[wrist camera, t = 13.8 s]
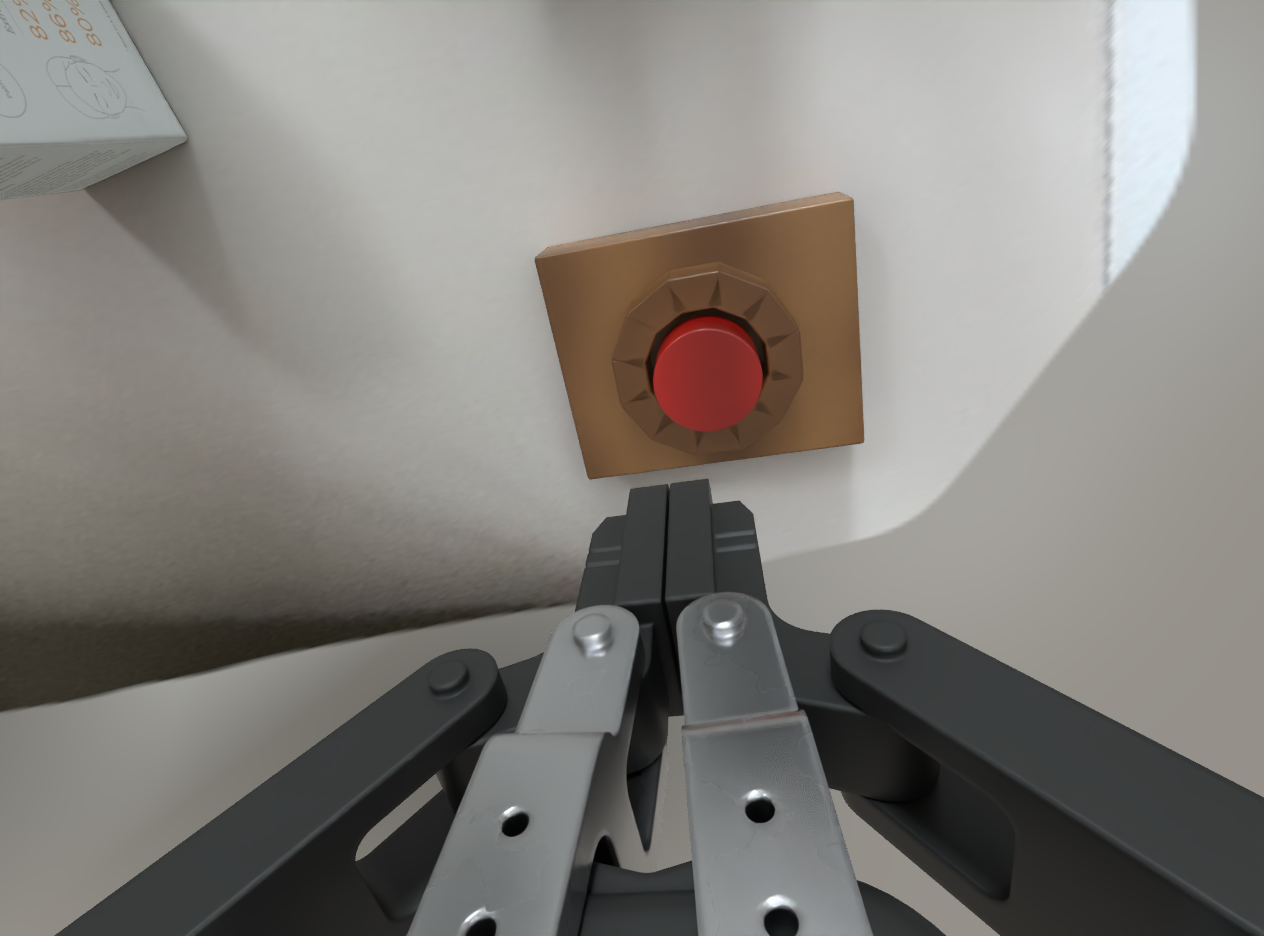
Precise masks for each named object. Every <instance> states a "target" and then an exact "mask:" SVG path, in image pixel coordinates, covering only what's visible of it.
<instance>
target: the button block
mask: <svg viewBox="0 0 1264 936" xmlns="http://www.w3.org/2000/svg"><path fill="white" fill-rule="evenodd" d="M535 264H536V268H537V272H538V276H539V280H540V284H541V288H542V292H543V296H544V300H545V304H546V309H547V313H548V317H549V321H550V325H551V329H552V333H553V337H554V341H555V345H556V349H557V353H558V357H559V362H560V366H561V370H562V374H563V378H564V382H565V386H566V390H567V394H568V398H569V402H570V406H571V411H572V415H573V419H574V423H575V427H576V431H577V435H578V439H579V443H580V447H581V451H582V455H583V459H584V464H585V468H586V472H587V476H588V478H589V479H597V478H604V477H612V476H619V475H627V474H634V473H642V472H649V471H657V470H664V469H672V468H679V467H687V466H695V465H702V464H710V463H717V462H725V461H732V460H740V459H747V458H755V457H762V456H770V455H777V454H785V453H792V452H800V451H807V450H815V449H823V448H830V447H838V446H845V445H853V444H860V443H864V422H863V400H862V378H861V356H860V333H859V311H858V289H857V266H856V244H855V222H854V200H853V198H851V197H849V196H847V195H845V194H843V193H841V192H835V193H830V194H824V195H819V196H814V197H809V198H803V199H798V200H793V201H788V202H782V203H777V204H772V205H767V206H761V207H756V208H751V209H746V210H740V211H735V212H730V213H725V214H719V215H714V216H709V217H703V218H698V219H693V220H688V221H682V222H677V223H672V224H667V225H661V226H656V227H651V228H646V229H640V230H635V231H630V232H625V233H619V234H614V235H609V236H603V237H598V238H593V239H588V240H582V241H577V242H572V243H567V244H561V245H556V246H551V247H547V248H546V249H545V250H544V251H542V252H541V253H540V254H539V255H538V256H536V257H535ZM706 315H709V316H719V317H723V318H726V319H729V320H731V321H733V322H735V323H736V324H738V325H739V326H741V327H742V328H743V329H744V330H745V331H746V332H747V333H748V334H749V336H750V337H751V339H752V340H753V342H754V344H755V347H756V350H757V353H758V356H759V360H760V364H761V368H762V373H763V384H762V390H761V394H760V396H759V399H758V401H757V403H756V405H755V406H754V408H753V409H752V410H751V412H750V413H749V414H748V415H747V416H746V417H745V418H744V419H742V420H741V421H740V422H738V423H736V424H735V425H733V426H731V427H729V428H726V429H723V430H718V431H711V432H703V431H695V430H691V429H688V428H686V427H683V426H681V425H679V424H678V423H676V422H675V421H673V420H672V419H671V418H670V417H669V416H668V415H667V414H666V413H665V412H664V411H663V410H662V408H661V407H660V405H659V403H658V401H657V398H656V396H655V392H654V386H653V375H654V369H655V363H656V357H657V353H658V350H659V347H660V345H661V343H662V341H663V340H664V338H665V337H666V335H667V334H668V333H669V332H670V331H671V330H672V329H673V328H674V327H676V326H677V325H678V324H680V323H682V322H684V321H685V320H688V319H691V318H694V317H698V316H706Z"/></svg>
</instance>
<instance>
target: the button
mask: <svg viewBox="0 0 1264 936" xmlns="http://www.w3.org/2000/svg"><path fill="white" fill-rule="evenodd" d="M762 384H763V373H762V368H761V364H760V360H759V356H758V353H757V350H756V347H755V344H754V342H753V340H752V339H751V337H750V336H749V334H748V333H747V332H746V331H745V330H744V329H743V328H742V327H741V326H739V325H738V324H736V323H735V322H733V321H731V320H729V319H726V318H723V317H719V316H709V315H706V316H698V317H694V318H691V319H688V320H685V321H684V322H682V323H680V324H678V325H677V326H676V327H674V328H673V329H672V330H671V331H670V332H669V333H668V334H667V335H666V337H665V338H664V340H663V341H662V343H661V345H660V347H659V350H658V353H657V357H656V363H655V369H654V375H653V386H654V392H655V396H656V398H657V401H658V403H659V405H660V407H661V408H662V410H663V411H664V412H665V413H666V414H667V415H668V416H669V417H670V418H671V419H672V420H673V421H675V422H676V423H678V424H679V425H681V426H683V427H686V428H688V429H691V430H695V431H703V432H711V431H718V430H723V429H726V428H729V427H731V426H733V425H735V424H736V423H738V422H740V421H741V420H742V419H744V418H745V417H746V416H747V415H748V414H749V413H750V412H751V410H752V409H753V408H754V406H755V405H756V403H757V401H758V399H759V396H760V394H761V390H762Z"/></svg>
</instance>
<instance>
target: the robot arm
mask: <svg viewBox="0 0 1264 936" xmlns="http://www.w3.org/2000/svg"><path fill="white" fill-rule="evenodd" d="M682 715H684V717H685V726H682V747H683V758H684V770H685V783H686V794H687V806H688V818H689V828H690V829H689V830H690V841H691V853H692V861H689V862H686V863H683V864H679V865H676V866H673V867H670V868H666V869H663V870H660V871H657V862H658V853H659V844H660V836H661V827H662V819H663V810H664V801H665V792H666V783H667V775H668V766H669V753H668V748H667V744H666V742H667V736H668V717H669V716H682ZM435 774H437V777H438V779H439V781H440V784H441V786H442V788H443V789H442V790H441V791H440V792H439V793H438V794H436V795H435V796H434V797H433V798H432V799H431V800H430V801H429V802H427V803H426V804H425V805H424V806H423V807H422V808H421V809H419V810H418V811H417V812H416V813H415V814H414V815H413V816H412V817H410V818H409V819H408V820H407V821H406V822H405V823H404V824H402V825H401V826H400V827H399V828H398V829H397V830H396V831H395V832H393V833H392V834H391V835H390V836H389V837H388V838H387V839H385V840H384V841H383V842H382V843H381V844H380V845H378V846H377V847H376V848H375V849H374V850H373V851H372V852H371V853H369V854H368V855H367V856H365V857H364V858H362V859H360V860H358V861H355V856H356V852H357V849H358V846H359V844H360V843H361V841H362V839H363V838H364V836H365V835H366V834H367V833H368V832H369V830H371V829H372V828H373V827H374V826H375V825H376V824H377V823H378V822H380V821H381V820H382V819H383V818H384V817H385V816H387V815H388V814H389V813H390V812H391V811H392V810H393V809H395V808H396V807H397V806H398V805H399V804H401V803H402V802H403V801H404V800H405V799H406V798H408V797H409V796H410V795H411V794H412V793H413V792H415V791H416V790H417V789H418V788H419V787H421V785H423V784H424V783H425V782H426V781H428V779H430V778H431V777H432V776H433V775H435ZM829 788H831V789H835V790H839V791H841V793H842V796H843V797H844V800H845V802H846V803H847V804H848V806H849V807H850V808H851V809H852V810H853V811H854V812H855V813H856V814H857V815H858V816H859V817H860V818H862V819H863V820H864V821H865V822H866V823H867V824H869V825H870V826H871V827H872V828H874V829H875V830H876V831H877V832H878V833H879V834H881V835H882V836H883V837H884V838H885V839H886V840H888V841H889V842H890V843H891V844H893V845H894V846H895V847H896V848H897V849H898V850H900V851H901V852H902V853H903V854H904V855H905V856H907V857H908V858H909V859H910V860H911V861H913V862H914V863H915V864H916V865H917V866H918V867H920V868H921V869H922V870H923V871H924V872H926V873H927V874H928V875H929V876H930V877H932V878H933V879H934V880H935V881H936V882H938V883H939V884H940V885H941V886H942V887H943V888H945V889H946V890H947V891H948V892H949V893H951V894H952V895H953V896H954V897H955V898H956V899H958V900H959V901H960V902H961V903H962V904H964V905H965V906H966V907H967V908H968V909H969V910H971V911H972V912H973V913H974V914H975V915H977V916H978V917H979V918H980V919H981V920H983V921H984V922H985V923H986V924H987V925H988V926H990V927H991V928H992V929H993V930H994V931H996V932H997V933H998V934H999V935H1000V936H1264V798H1263V797H1262V796H1260V795H1258V794H1256V793H1254V792H1252V791H1250V790H1248V789H1246V788H1244V787H1242V786H1240V785H1238V784H1236V783H1235V782H1233V781H1230V780H1229V779H1227V778H1225V777H1223V776H1221V775H1219V774H1217V773H1215V772H1213V771H1211V770H1209V769H1208V768H1205V767H1203V766H1202V765H1200V764H1198V763H1196V762H1194V761H1192V760H1190V759H1188V758H1186V757H1184V756H1182V755H1180V754H1178V753H1176V752H1175V751H1172V750H1171V749H1169V748H1166V747H1165V746H1163V745H1161V744H1159V743H1157V742H1155V741H1153V740H1151V739H1149V738H1147V737H1145V736H1144V735H1142V734H1140V733H1138V732H1136V731H1134V730H1132V729H1130V728H1128V727H1126V726H1124V725H1122V724H1120V723H1119V722H1117V721H1114V720H1113V719H1111V718H1109V717H1107V716H1105V715H1103V714H1101V713H1099V712H1097V711H1095V710H1093V709H1091V708H1089V707H1087V706H1086V705H1084V704H1082V703H1080V702H1078V701H1076V700H1074V699H1072V698H1070V697H1068V696H1066V695H1064V694H1062V693H1060V692H1059V691H1057V690H1055V689H1053V688H1051V687H1049V686H1047V685H1045V684H1043V683H1041V682H1039V681H1037V680H1035V679H1033V678H1031V677H1030V676H1028V675H1026V674H1024V673H1022V672H1020V671H1018V670H1016V669H1014V668H1012V667H1010V666H1008V665H1006V664H1004V663H1002V662H1000V661H998V660H997V659H995V658H993V657H991V656H989V655H987V654H985V653H983V652H981V651H979V650H977V649H975V648H973V647H971V646H969V645H968V644H966V643H964V642H962V641H960V640H958V639H956V638H954V637H952V636H950V635H948V634H946V633H944V632H942V631H940V630H939V629H937V628H935V627H933V626H931V625H929V624H927V623H925V622H923V621H921V620H919V619H917V618H915V617H913V616H910V615H908V614H905V613H901V612H897V611H891V610H868V611H862V612H858V613H855V614H853V615H850V616H848V617H846V618H844V619H843V620H841V621H840V622H839V623H838V624H837V625H836V626H835V627H834V629H833V630H832V632H831V634H828V633H820V632H813V631H808V630H804V629H800V628H797V627H794V626H792V625H790V624H788V623H786V622H784V621H783V620H781V619H780V618H779V617H778V616H777V615H775V614H774V612H773V611H772V610H771V608H770V606H769V604H768V600H767V595H766V589H765V583H764V577H763V571H762V565H761V559H760V553H759V547H758V541H757V535H756V528H755V522H754V516H753V513H752V512H751V511H750V510H749V509H747V508H746V507H745V506H744V505H743V504H742V503H741V502H740V501H733V502H725V503H717V504H713V502H712V496H711V489H710V484H709V479H702V480H695V481H687V482H679V483H672V484H671V485H670V488H669V485H668V484H665V485H657V486H650V487H642V488H635V489H631V490H630V493H629V500H628V506H627V513H626V515H622V516H614V517H607V518H606V519H605V520H604V521H603V522H602V523H601V524H600V526H599V527H598V528H597V529H596V530H595V531H594V533H593V534H592V538H591V543H590V547H589V554H588V556H587V560H586V568H585V569H584V574H583V578H582V583H581V587H580V591H579V596H578V600H577V605H576V609H575V612H574V613H573V614H571V615H569V616H567V617H566V618H565V619H564V620H562V621H561V622H560V623H559V624H558V625H557V626H556V627H555V629H554V630H553V632H552V634H551V635H550V638H549V640H548V643H547V646H546V649H545V651H544V652H543V653H541V654H540V655H538V656H535V657H532V658H530V659H527V660H524V661H521V662H518V663H516V664H512V665H509V666H507V667H504V668H501V669H498V667H497V664H496V661H495V659H494V658H493V657H492V656H491V655H490V654H489V653H487V652H485V651H482V650H478V649H460V650H455V651H452V652H448V653H445V654H443V655H441V656H438V657H437V658H435V659H433V660H431V661H430V662H428V663H427V664H425V665H424V666H423V667H421V668H420V669H418V670H417V671H416V672H414V673H413V674H412V675H410V676H409V677H407V678H406V679H405V680H403V681H402V682H400V683H399V684H398V685H397V686H395V687H394V688H392V689H391V690H390V691H388V692H387V693H386V694H384V695H383V696H381V697H380V698H379V699H377V700H376V701H375V702H373V703H372V704H370V705H369V706H368V707H366V708H365V709H364V710H362V711H361V712H359V713H358V714H357V715H355V716H354V717H353V718H351V719H350V720H349V721H347V722H346V723H344V724H343V725H342V726H340V727H339V728H338V729H336V730H335V731H334V732H332V733H331V734H329V735H328V736H327V737H326V738H324V739H323V740H321V741H320V742H319V743H317V744H316V745H314V746H313V747H312V748H310V749H309V750H308V751H306V752H305V753H303V754H302V755H301V756H299V757H298V758H297V759H296V760H294V761H293V762H291V763H290V764H288V765H287V766H286V767H284V768H283V769H282V770H280V771H279V772H278V773H276V774H275V775H273V776H272V777H271V778H269V779H268V780H267V781H265V782H264V783H262V784H261V785H260V786H258V787H257V788H256V789H254V790H253V791H252V792H250V793H249V794H247V795H246V796H245V797H243V798H242V799H241V800H239V801H238V802H236V803H235V804H234V805H233V806H231V807H230V808H228V809H227V810H226V811H224V812H223V813H221V814H220V815H219V816H217V817H216V818H215V819H213V820H212V821H211V822H209V823H208V824H206V825H205V826H204V827H202V828H201V829H200V830H198V831H197V832H196V833H194V834H193V835H192V836H190V837H189V838H187V839H186V840H185V841H183V842H182V843H180V844H179V845H178V846H177V847H175V848H174V849H172V850H171V851H170V852H168V853H167V854H165V855H164V856H163V857H161V858H160V859H159V860H157V861H156V862H155V863H153V864H152V865H150V866H149V867H148V868H146V869H145V870H144V871H142V872H141V873H139V874H138V875H137V876H135V877H134V878H133V879H131V880H130V881H129V882H127V883H126V884H125V885H123V886H122V887H120V888H119V889H118V890H116V891H115V892H114V893H112V894H111V895H109V896H108V897H107V898H105V899H104V900H103V901H101V902H100V903H99V904H97V905H96V906H94V907H93V908H92V909H90V910H89V911H88V912H86V913H85V914H83V915H82V916H81V917H79V918H78V919H77V920H75V921H74V922H73V923H71V924H70V925H68V926H67V927H66V928H64V929H63V930H62V931H60V932H59V933H58V934H56V935H55V936H946V935H945V934H943V933H942V932H941V931H940V930H939V929H938V928H937V927H936V926H935V925H933V924H932V923H931V922H929V921H928V920H927V919H926V918H924V917H923V916H922V915H920V914H919V913H918V912H916V911H915V910H914V909H912V908H911V907H909V906H908V905H906V904H904V903H903V902H901V901H899V900H898V899H896V898H894V897H893V896H891V895H890V894H888V893H885V892H883V891H881V890H879V889H877V888H875V887H873V886H871V885H869V884H866V883H864V882H861V881H858V880H856V877H855V874H854V870H853V867H852V864H851V860H850V857H849V854H848V850H847V848H846V844H845V841H844V837H843V834H842V831H841V827H840V824H839V820H838V817H837V814H836V810H835V807H834V804H833V801H832V797H831V794H830V790H829Z"/></svg>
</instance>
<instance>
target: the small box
mask: <svg viewBox="0 0 1264 936" xmlns="http://www.w3.org/2000/svg"><path fill="white" fill-rule="evenodd" d="M186 140H187V136H186V134H185V132H184V131H183V129H182V127H181V125H180V124H179V122H178V120H177V119H176V117H175V115H174V113H173V112H172V110H171V108H170V107H169V105H168V103H167V101H166V100H165V98H164V96H163V94H162V93H161V91H160V89H159V87H158V86H157V84H156V82H155V80H154V79H153V77H152V75H151V73H150V72H149V70H148V68H147V66H146V65H145V63H144V61H143V59H142V57H141V56H140V54H139V52H138V51H137V49H136V47H135V45H134V44H133V42H132V40H131V39H130V37H129V35H128V33H127V32H126V30H125V28H124V26H123V24H122V23H121V21H120V19H119V17H118V16H117V14H116V12H115V10H114V9H113V7H112V5H111V3H110V2H109V0H0V200H4V199H13V198H23V197H31V196H39V195H47V194H55V193H63V192H71V191H78V190H80V189H83V188H85V187H87V186H90V185H92V184H95V183H97V182H99V181H101V180H104V179H106V178H108V177H110V176H113V175H115V174H117V173H119V172H121V171H124V170H126V169H128V168H130V167H132V166H134V165H136V164H139V163H141V162H143V161H145V160H147V159H150V158H152V157H154V156H156V155H158V154H161V153H163V152H165V151H167V150H169V149H171V148H173V147H175V146H177V145H179V144H181V143H184V142H185V141H186Z"/></svg>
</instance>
